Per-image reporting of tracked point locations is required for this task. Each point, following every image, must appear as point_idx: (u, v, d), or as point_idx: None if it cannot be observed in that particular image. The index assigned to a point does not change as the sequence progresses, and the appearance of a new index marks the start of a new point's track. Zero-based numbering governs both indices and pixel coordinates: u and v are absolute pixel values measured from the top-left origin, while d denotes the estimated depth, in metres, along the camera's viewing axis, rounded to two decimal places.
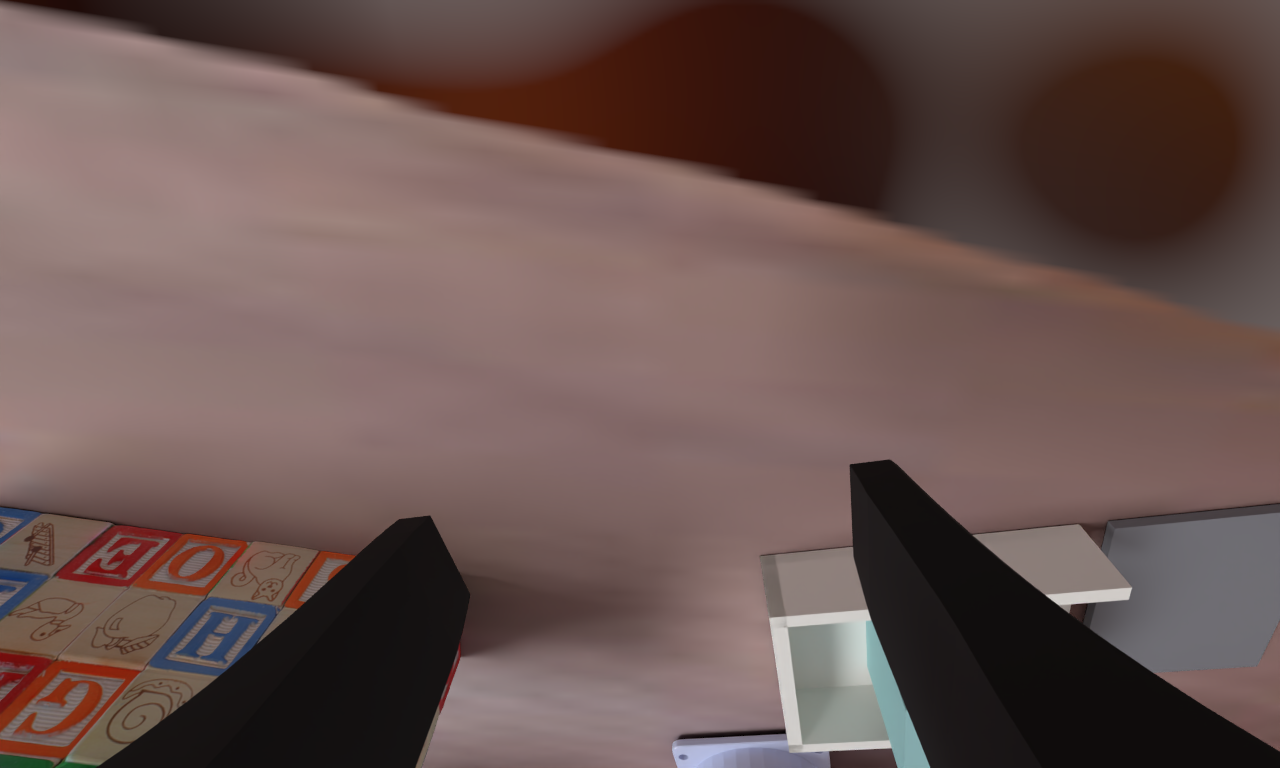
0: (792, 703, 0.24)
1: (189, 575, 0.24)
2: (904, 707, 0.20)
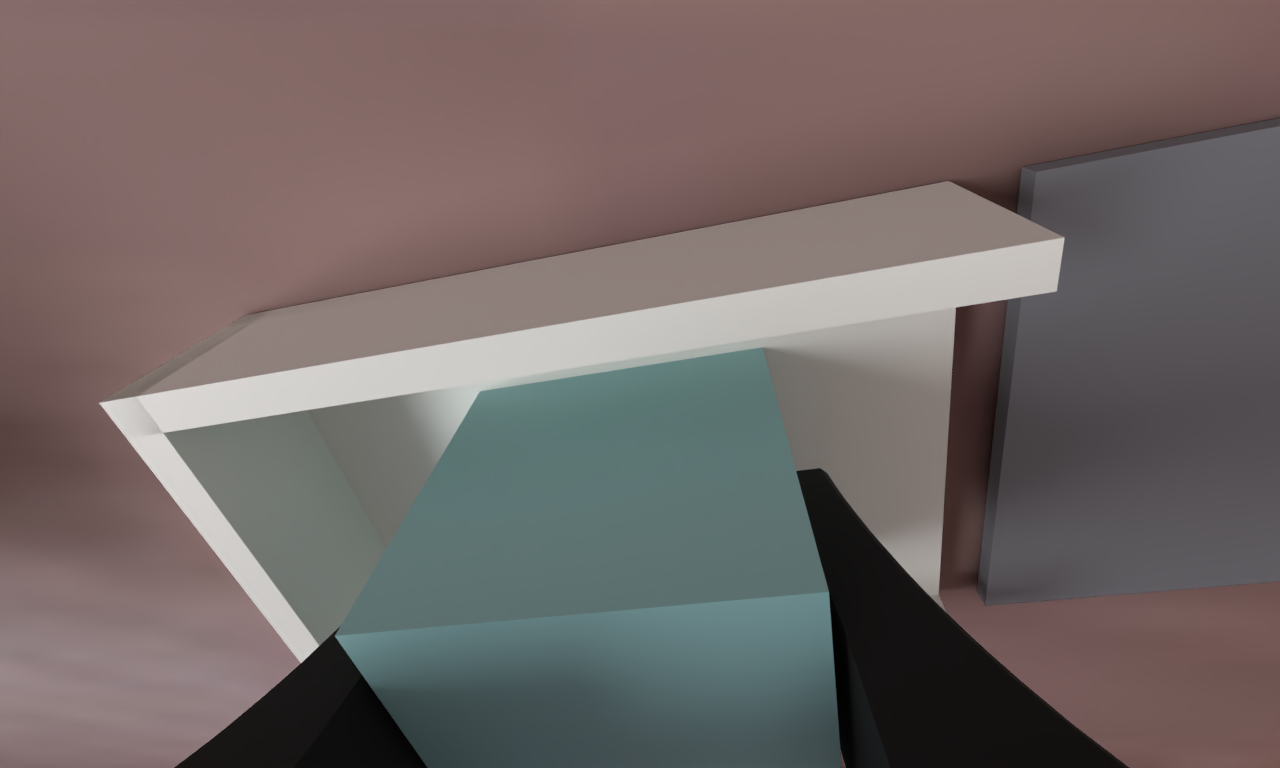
0: None
1: None
2: (346, 628, 0.06)
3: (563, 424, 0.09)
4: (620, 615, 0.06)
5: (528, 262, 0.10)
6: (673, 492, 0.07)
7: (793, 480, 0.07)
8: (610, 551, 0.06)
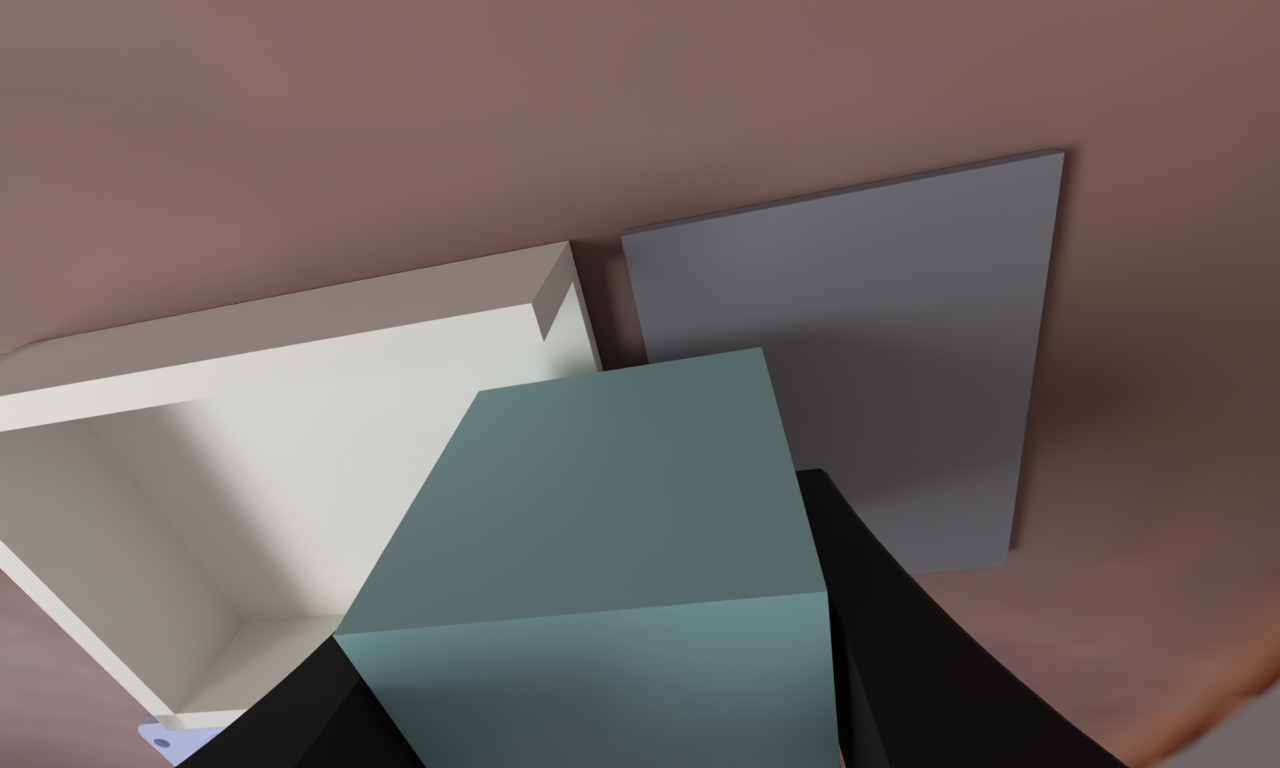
0: (83, 631, 0.12)
1: None
2: (344, 628, 0.06)
3: (562, 424, 0.09)
4: (618, 615, 0.06)
5: (248, 302, 0.11)
6: (672, 492, 0.07)
7: (792, 480, 0.07)
8: (608, 550, 0.06)
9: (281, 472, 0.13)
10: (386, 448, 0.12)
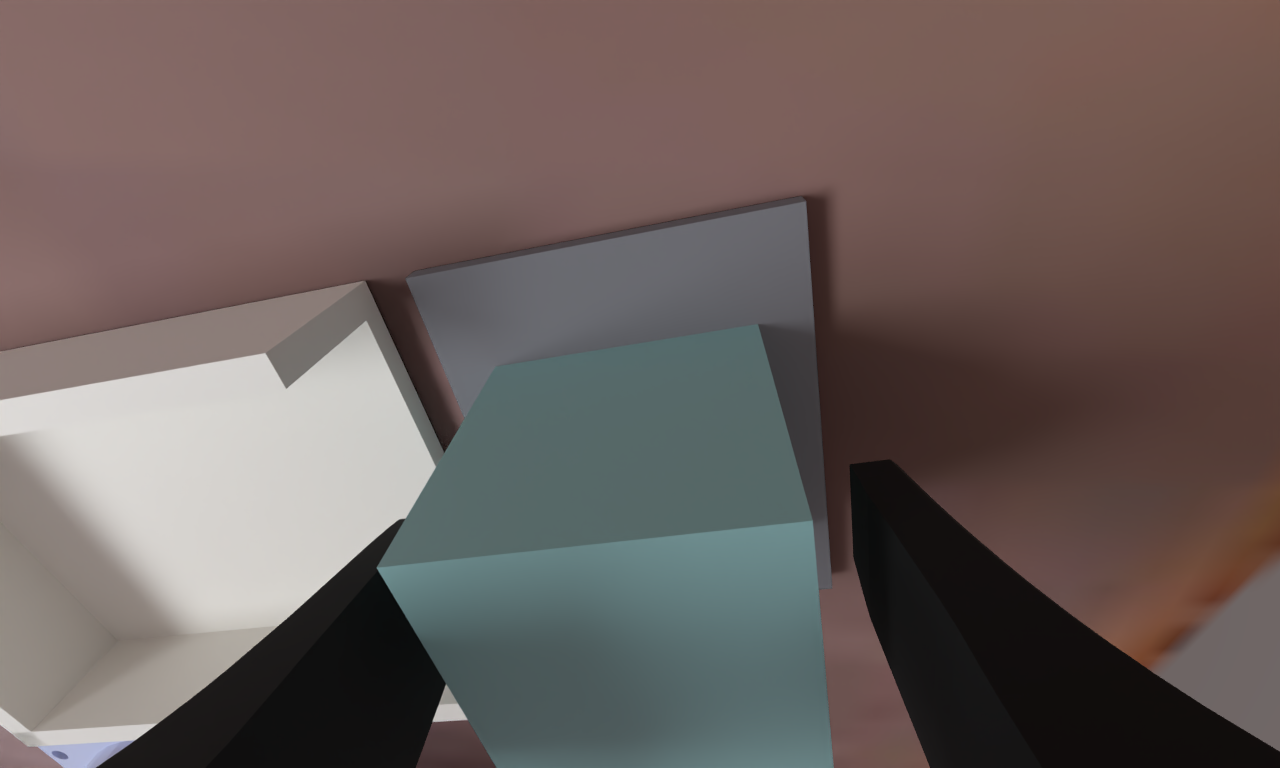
0: None
1: None
2: None
3: (574, 393, 0.10)
4: (629, 545, 0.06)
5: (72, 338, 0.12)
6: (676, 446, 0.08)
7: (783, 434, 0.07)
8: (621, 494, 0.07)
9: (126, 498, 0.13)
10: (221, 476, 0.13)
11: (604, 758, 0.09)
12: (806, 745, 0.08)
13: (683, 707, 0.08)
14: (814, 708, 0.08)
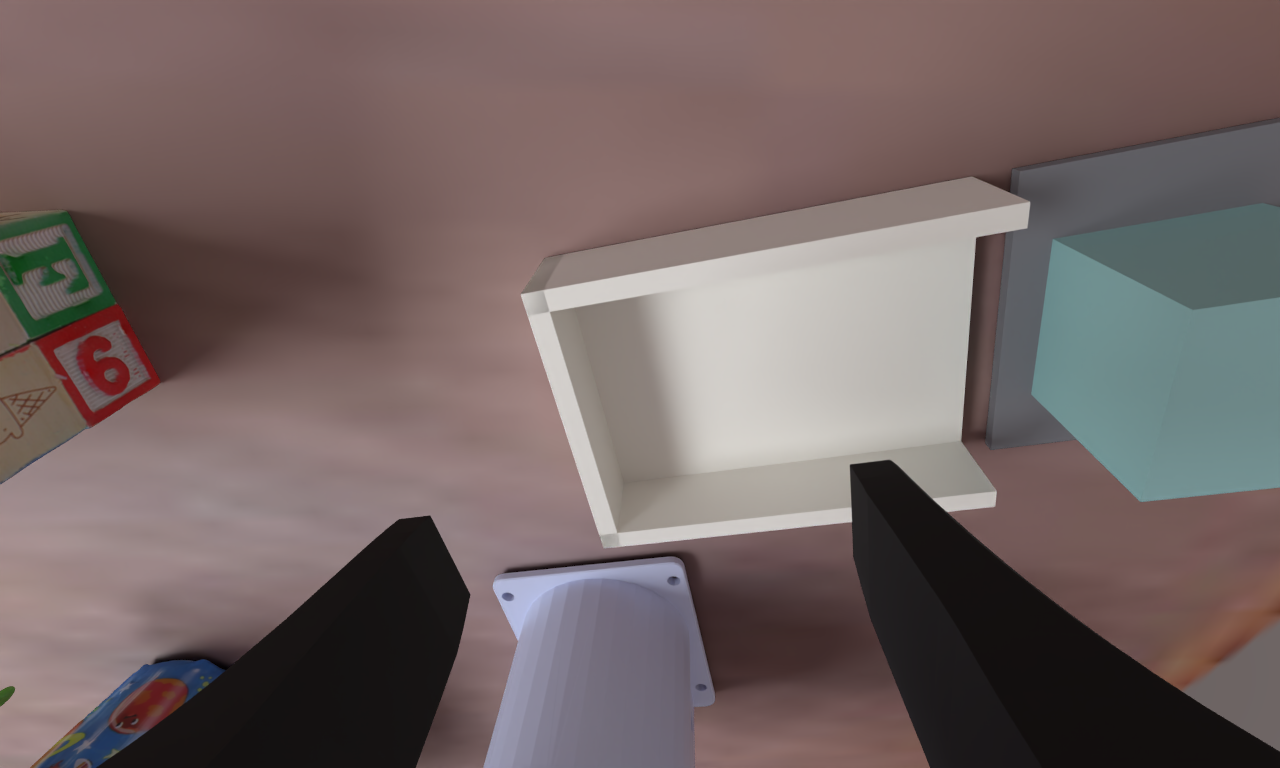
0: (588, 460, 0.17)
1: None
2: (1186, 311, 0.12)
3: (1168, 242, 0.14)
4: None
5: (726, 223, 0.16)
6: None
7: None
8: None
9: (709, 352, 0.18)
10: (796, 332, 0.17)
11: (1231, 468, 0.13)
12: None
13: None
14: None
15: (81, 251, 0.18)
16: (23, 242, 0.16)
